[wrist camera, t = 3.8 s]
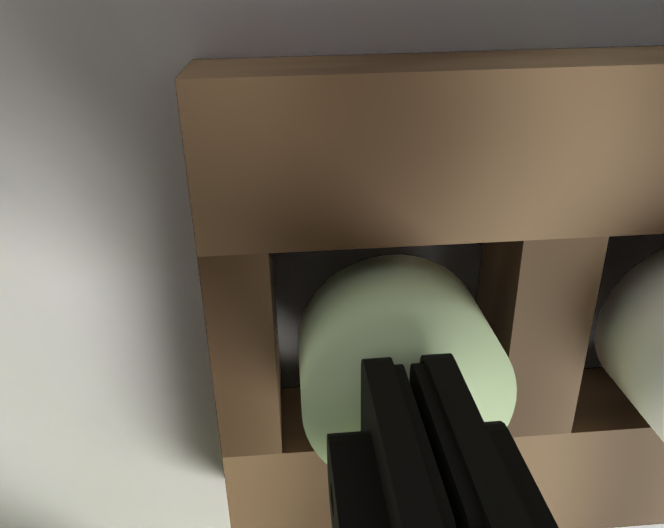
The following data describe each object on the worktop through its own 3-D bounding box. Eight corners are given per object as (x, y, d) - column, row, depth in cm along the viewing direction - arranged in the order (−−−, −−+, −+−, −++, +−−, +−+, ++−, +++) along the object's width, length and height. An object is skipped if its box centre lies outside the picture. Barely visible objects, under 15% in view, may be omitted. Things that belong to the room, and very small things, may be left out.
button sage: (487, 250, 13) (529, 307, 11) (471, 404, 15) (504, 480, 13) (293, 259, 13) (297, 320, 11) (301, 415, 15) (305, 495, 13)
